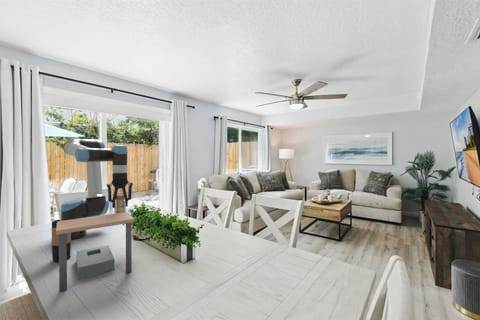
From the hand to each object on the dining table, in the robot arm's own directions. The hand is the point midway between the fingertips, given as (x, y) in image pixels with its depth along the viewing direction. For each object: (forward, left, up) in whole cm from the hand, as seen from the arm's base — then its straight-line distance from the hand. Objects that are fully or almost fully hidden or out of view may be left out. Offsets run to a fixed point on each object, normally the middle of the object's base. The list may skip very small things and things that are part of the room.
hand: (120, 212), depth 129 cm
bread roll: (-10, +15, -21) cm, 28 cm away
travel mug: (-2, -27, -21) cm, 34 cm away
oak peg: (0, 0, -4) cm, 4 cm away
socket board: (+15, -14, -21) cm, 29 cm away
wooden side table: (+24, -14, -21) cm, 35 cm away
